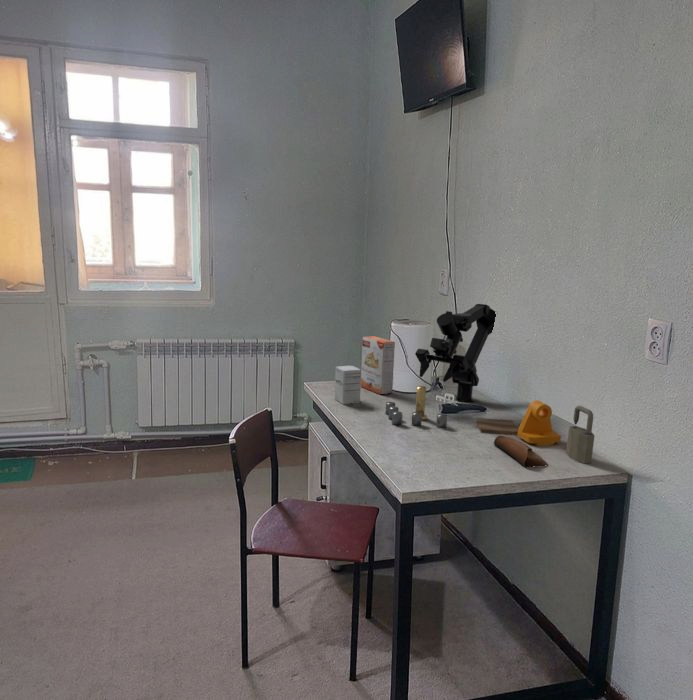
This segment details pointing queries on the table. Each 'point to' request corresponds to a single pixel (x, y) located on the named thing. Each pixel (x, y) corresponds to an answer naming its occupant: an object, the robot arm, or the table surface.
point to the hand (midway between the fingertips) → (431, 378)
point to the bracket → (538, 425)
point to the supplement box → (347, 384)
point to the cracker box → (377, 364)
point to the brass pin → (421, 401)
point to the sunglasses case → (519, 451)
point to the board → (497, 426)
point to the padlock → (581, 438)
